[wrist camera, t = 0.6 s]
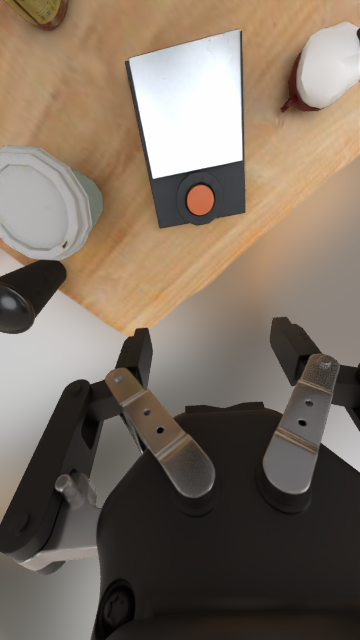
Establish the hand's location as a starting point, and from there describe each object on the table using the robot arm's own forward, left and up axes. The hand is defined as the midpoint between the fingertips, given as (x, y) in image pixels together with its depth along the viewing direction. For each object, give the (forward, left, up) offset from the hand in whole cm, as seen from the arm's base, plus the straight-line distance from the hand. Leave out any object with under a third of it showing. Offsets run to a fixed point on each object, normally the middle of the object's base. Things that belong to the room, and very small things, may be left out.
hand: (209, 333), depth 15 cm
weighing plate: (-14, +2, -24) cm, 28 cm away
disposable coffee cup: (-8, -15, -27) cm, 32 cm away
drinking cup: (+2, -25, -27) cm, 37 cm away
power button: (-5, +2, -24) cm, 25 cm away
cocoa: (-15, +17, -27) cm, 35 cm away
